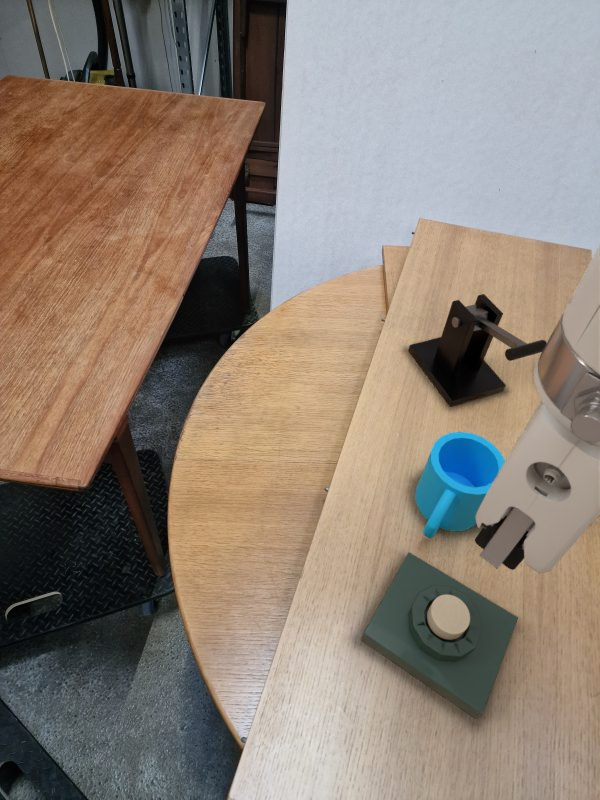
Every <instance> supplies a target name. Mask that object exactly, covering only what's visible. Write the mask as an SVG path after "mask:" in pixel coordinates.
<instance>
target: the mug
mask: <svg viewBox="0 0 600 800" xmlns="http://www.w3.org/2000/svg"><path fill="white" fill-rule="evenodd" d="M505 460H506V459H505V458H504V456H503V454H502V452H501V451H500V450H499V449H498V447H497V446H496V445H495V444H493V443H492V442H491V441H489V440H488V439H486V438H485V437H483V436H480V435H478V434H475V433H472V432H466V431H454V432H448V433H446V434H444V435H441V436H440V437H439V438H437V440H436V441H435V442H433V445H432V448H431V450H430V453H429V455H428V457H427V460H426V463H425V465H424V468H423V471H422V473H421V476H420V478H419V480H418V483H417V485H416V488H415V492H414V493H415V495H414V497H415V503H416V505H417V508H418V510H419V511H420V513H421V515H422V516H423V517H424V519H426V521H427V522H426V524H425V525H424V528H423V530H422V534H423V536H424V537H425V538H427V539H433V538H434V537H435V536H436V534H437V532H438V531H439V529H442V530H445V531H450V532H455V533H457V532H463V531H468V530H469V529H472V528H474V527H476V526H477V523H476V514H477V511H478V509H479V507H480V505H481V503H482V501H483V500H484V498H485V496H486V494H487V492H488V490H489V489H490V487H491V485H492V483H493V481H494V479H495V478H496V476H497V474H498V472H499V471H500V469H501V467H502V466H503V464H504V462H505Z"/></svg>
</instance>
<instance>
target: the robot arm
mask: <svg viewBox="0 0 600 800" xmlns="http://www.w3.org/2000/svg"><path fill="white" fill-rule="evenodd" d="M546 342H547V344H546V346H545V347H544V349H543V351H542V352H541V353H540V354H539V356H538V358H537V360H536V362H535V364H534V368H533V375H532V376H533V384H534V387H535V391H536V393H537V395H538V397H539V399H540V402H539V404H538V405H537V407H536V409H535V410H534V412H533V413H532V415H531V417H530V418H529V420H528V422H527V423H526V425H525V427H524V428H523V430H522V432H521V433H520V435H519V436H518V438H517V440H516V442H515V443H514V444H513V447H512V449H511V450H510V451H509V453H508V455H507V456H506V459H504V460H505V462H504V464H503V466H502V467H501V469H500V471H499V472H498V474H497V476H496V478H495V479H494V481H493V483H492V485H491V487H490V489H489V490H488V492H487V494H486V496H485V498H484V500H483V501H482V503H481V505H480V507H479V509H478V511H477V514H476V523H477V524H476V527H477V528H478V529H480V528H481V527H482V528H481V529H480V530H479V533H478V534H477V535H476V537H475V538H474V543H475V544H476V545H477V546H478V547H480V548H481V549H482V551H481V552H480V553H479V557H480V558H482V559H483V560H484V561H486V562H487V563H489V564H490V565H491V566H492V567H493V568H495V569H496V570H498V569H499V568H500V566H502V565H503V566H505V567H506V568H507V569H509V570H511V571H514V570H516V568H517V567H518V566H519V565H520V564H521V563H522V561H523V560H524V564H525V565H526V567H529V568H530V569H532V570H533V571H535V572H536V573H538V574H547V573H549V572H551V571H552V570H553V569H554V567H555V566H556V565H558V563H559V562H560V560H562V558H563V557H564V556H565V555H566V553H568V552H569V550H570V549H571V548H572V547H573V546H574V545H575V543H577V541H578V540H579V539H580V538H581V537H582V536H583V535H584V533H586V531H587V530H588V529H589V528H590V527H591V526H592V525H593V523H594V522H595V521H596V520H597V519H598V518H599V517H600V244H599V245H598V247H597V249H596V251H595V253H594V254H593V256H592V258H591V260H590V261H589V263H588V265H587V267H586V269H585V271H584V273H583V275H582V277H581V279H580V280H579V282H578V284H577V286H576V288H575V290H574V292H573V294H572V296H571V297H570V299H569V301H568V303H567V305H566V306H565V308H564V311H563V312H562V313H561V316H560V318H559V319H558V322H557V323H556V325H555V327H554V328H553V331H552V332H551V335H550V336H549V338H548V340H547V341H546Z"/></svg>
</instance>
